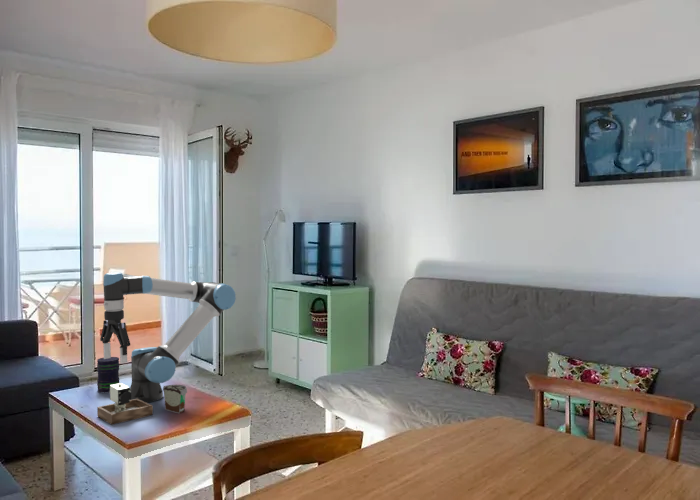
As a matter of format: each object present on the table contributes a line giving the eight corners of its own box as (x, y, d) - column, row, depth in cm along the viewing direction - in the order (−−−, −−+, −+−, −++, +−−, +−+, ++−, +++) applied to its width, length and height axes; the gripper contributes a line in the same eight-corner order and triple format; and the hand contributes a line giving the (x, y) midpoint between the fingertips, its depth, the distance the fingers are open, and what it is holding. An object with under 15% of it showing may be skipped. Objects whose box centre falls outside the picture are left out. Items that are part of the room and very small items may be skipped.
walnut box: (137, 407, 245) (137, 398, 245) (152, 414, 236) (152, 405, 235) (97, 416, 233) (97, 407, 233) (111, 424, 223) (111, 414, 223)
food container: (193, 410, 242) (193, 387, 241) (181, 414, 237) (181, 390, 236) (174, 405, 249) (174, 382, 248) (162, 409, 244) (162, 385, 243)
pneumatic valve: (120, 417, 229) (119, 388, 228) (108, 409, 238) (108, 381, 237) (133, 414, 233) (133, 385, 232) (121, 406, 241) (121, 378, 240)
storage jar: (115, 386, 280) (115, 355, 280) (122, 390, 273) (122, 359, 272) (94, 389, 274) (94, 358, 273) (100, 393, 266) (100, 362, 266)
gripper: (90, 308, 241) (92, 358, 242) (120, 313, 226) (122, 366, 226) (107, 306, 247) (109, 354, 248) (138, 311, 231) (139, 363, 232)
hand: (115, 360), depth 237 cm, fingers open, 13 cm apart
